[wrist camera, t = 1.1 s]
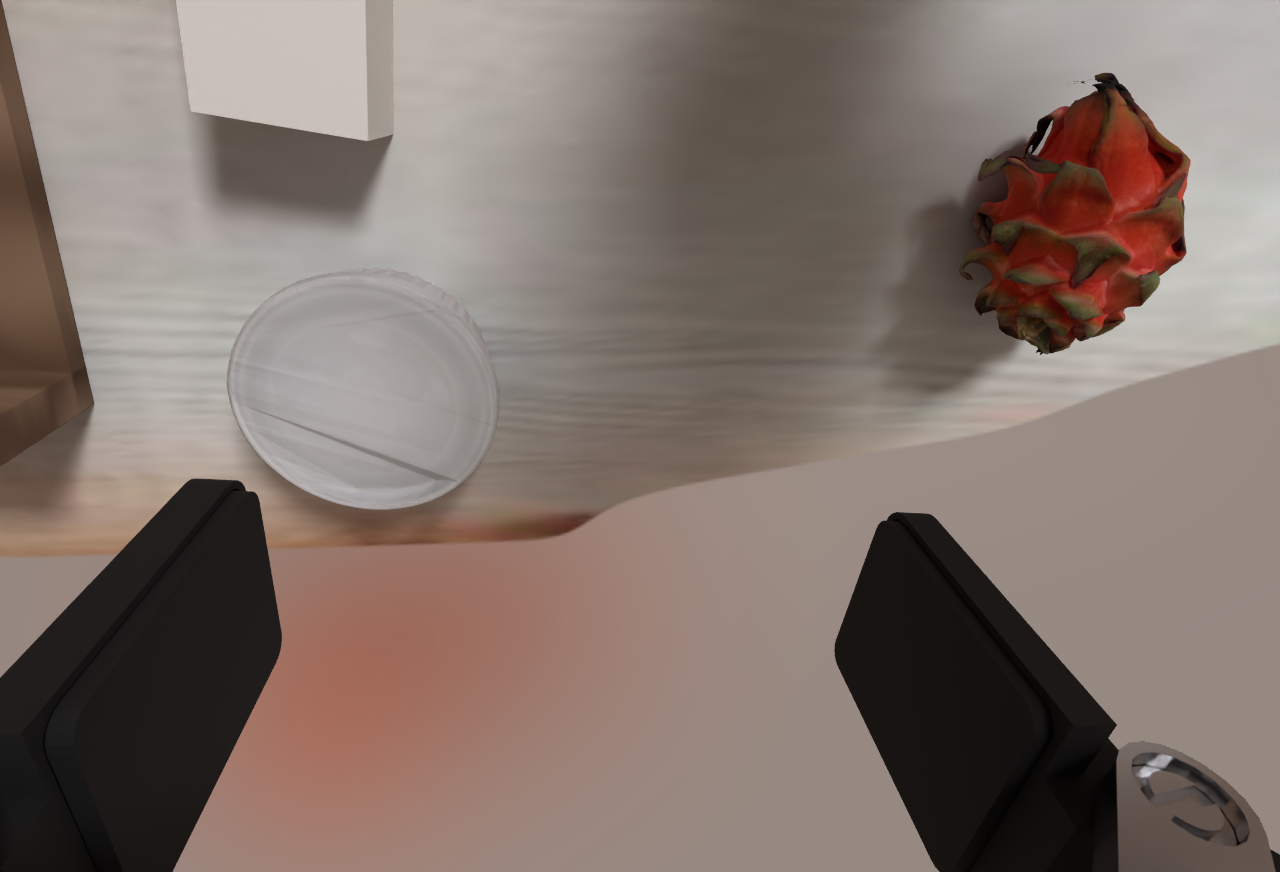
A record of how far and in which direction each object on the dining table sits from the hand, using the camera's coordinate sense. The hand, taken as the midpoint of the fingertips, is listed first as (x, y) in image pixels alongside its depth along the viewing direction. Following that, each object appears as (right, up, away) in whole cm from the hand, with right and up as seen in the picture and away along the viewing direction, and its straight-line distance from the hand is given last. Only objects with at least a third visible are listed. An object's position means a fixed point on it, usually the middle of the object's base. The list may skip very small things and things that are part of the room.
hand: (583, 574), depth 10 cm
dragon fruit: (+20, +14, +23) cm, 33 cm away
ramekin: (-12, +6, +23) cm, 26 cm away
